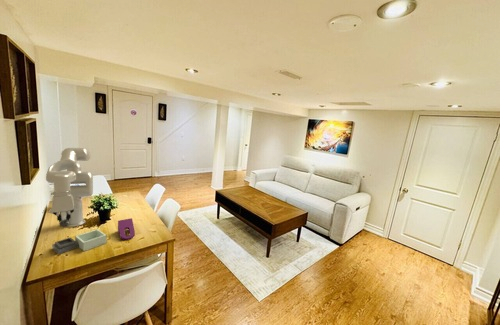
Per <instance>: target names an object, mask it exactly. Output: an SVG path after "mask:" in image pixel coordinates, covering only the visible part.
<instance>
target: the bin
mask: <svg viewBox="0 0 500 325" xmlns="http://www.w3.org/2000/svg"><path fill="white" fill-rule="evenodd" d="M107 239H108V238H107V234H106V233H104V232H102V231H101V230H100V229H98V228H97V229H93V230H90V231H87V232H84V233H80V234H78V235H75V236H74V240H75V241H76V242H77V243H78V249H81V250H82V251H83V252H86V251H88V250H92V249H94V248H97V247H99V246H102V245H105V244H107V243H108V242H107V241H108V240H107Z"/></svg>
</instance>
